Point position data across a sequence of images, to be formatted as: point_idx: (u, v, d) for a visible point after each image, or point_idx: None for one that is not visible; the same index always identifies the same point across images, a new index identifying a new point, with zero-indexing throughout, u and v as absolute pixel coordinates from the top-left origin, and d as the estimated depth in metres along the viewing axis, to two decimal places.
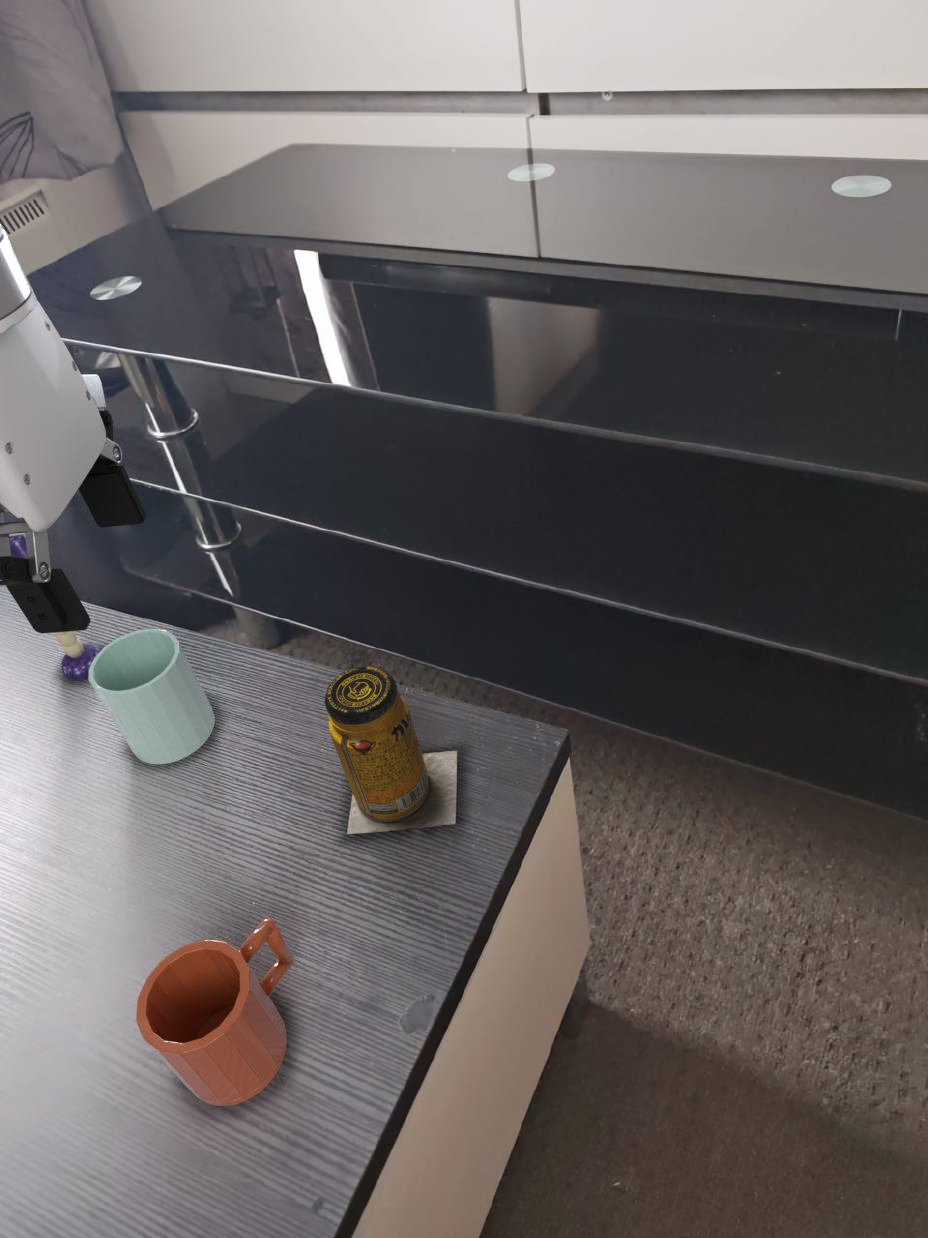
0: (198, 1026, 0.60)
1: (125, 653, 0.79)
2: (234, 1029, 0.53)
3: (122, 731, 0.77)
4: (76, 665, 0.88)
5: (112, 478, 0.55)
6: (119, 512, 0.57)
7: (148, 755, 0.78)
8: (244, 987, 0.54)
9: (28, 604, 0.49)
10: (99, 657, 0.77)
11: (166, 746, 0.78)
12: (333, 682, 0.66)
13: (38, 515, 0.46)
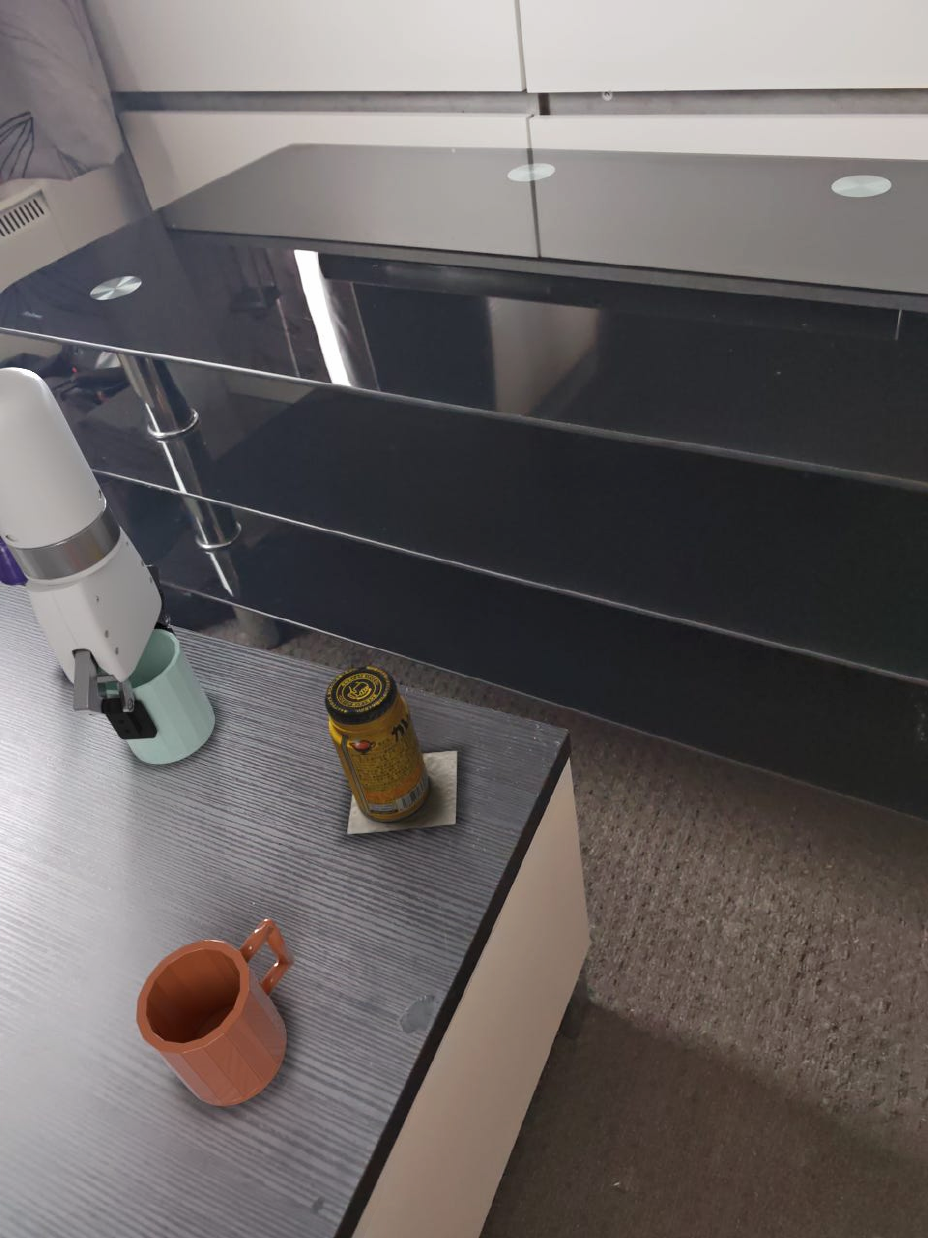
0: (198, 1026, 0.60)
1: None
2: (234, 1029, 0.53)
3: None
4: None
5: None
6: None
7: (148, 755, 0.78)
8: (244, 987, 0.54)
9: (118, 724, 0.73)
10: None
11: (166, 746, 0.78)
12: (333, 682, 0.66)
13: (122, 672, 0.70)
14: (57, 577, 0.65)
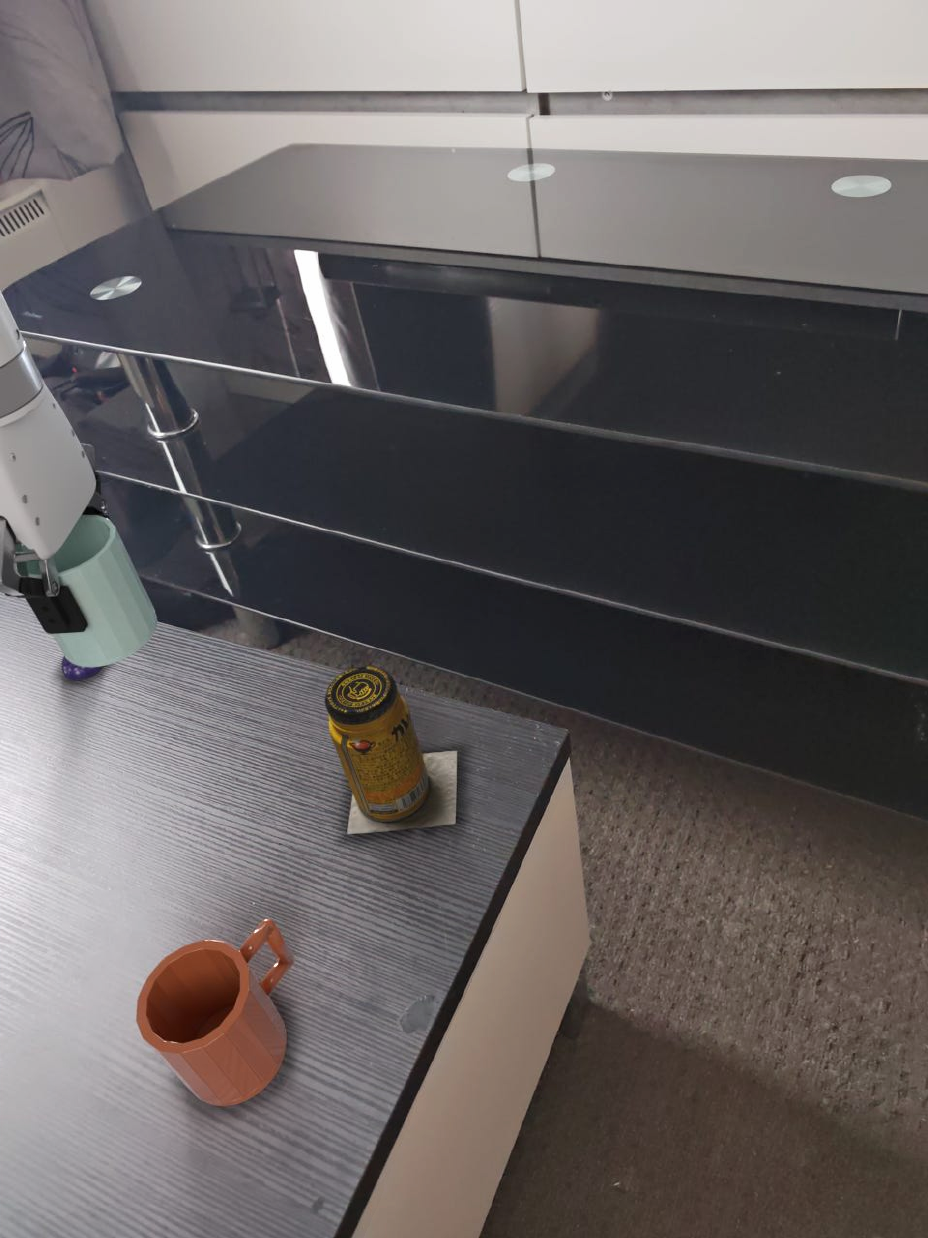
0: (198, 1026, 0.60)
1: None
2: (234, 1029, 0.53)
3: None
4: (76, 665, 0.88)
5: None
6: None
7: (79, 656, 0.70)
8: (244, 987, 0.54)
9: (41, 612, 0.65)
10: None
11: (99, 644, 0.69)
12: (333, 682, 0.66)
13: (45, 547, 0.62)
14: None
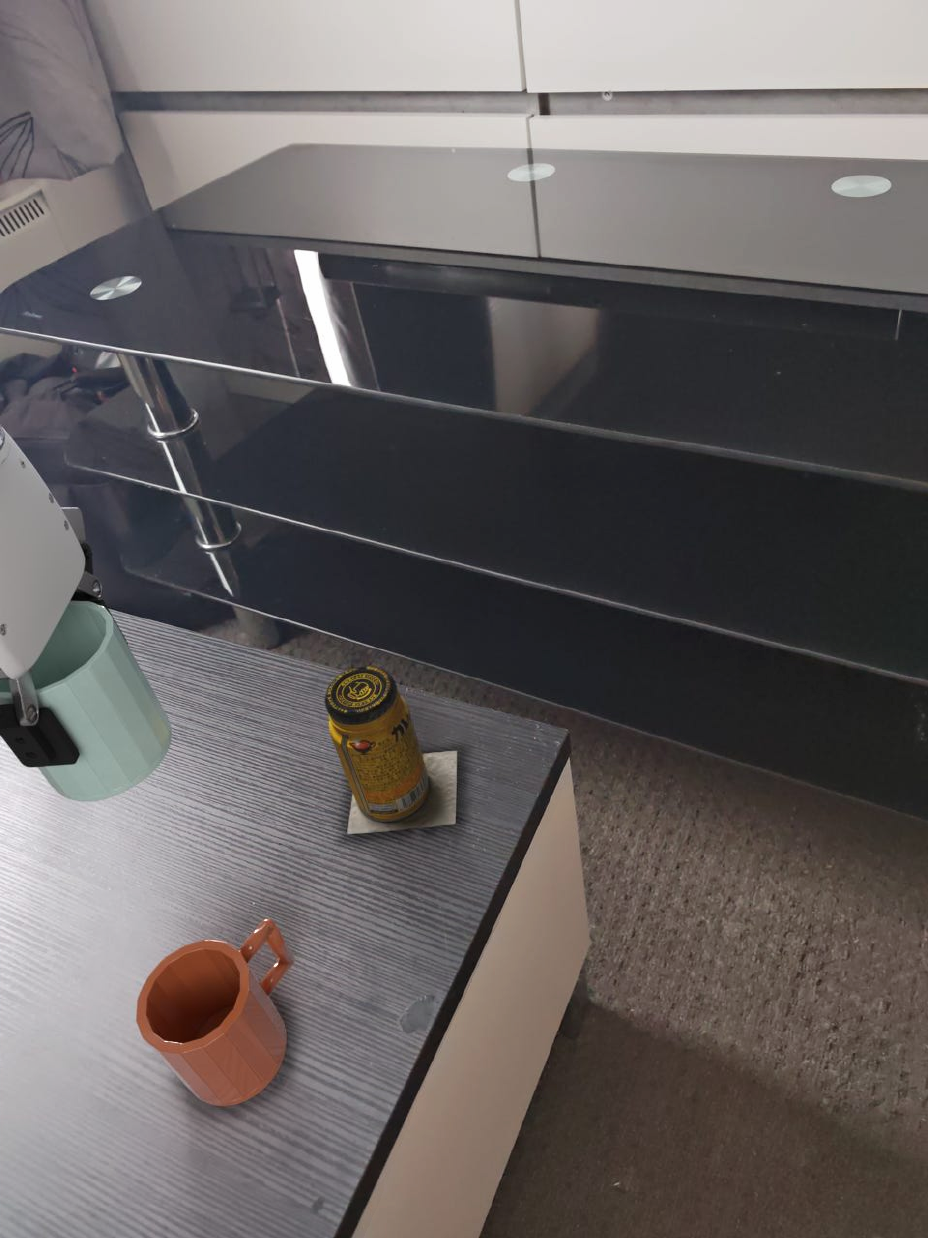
0: (198, 1026, 0.60)
1: None
2: (234, 1029, 0.53)
3: None
4: None
5: None
6: None
7: (71, 789, 0.53)
8: (244, 987, 0.54)
9: (16, 744, 0.48)
10: None
11: (96, 774, 0.52)
12: (333, 682, 0.66)
13: (15, 663, 0.45)
14: None
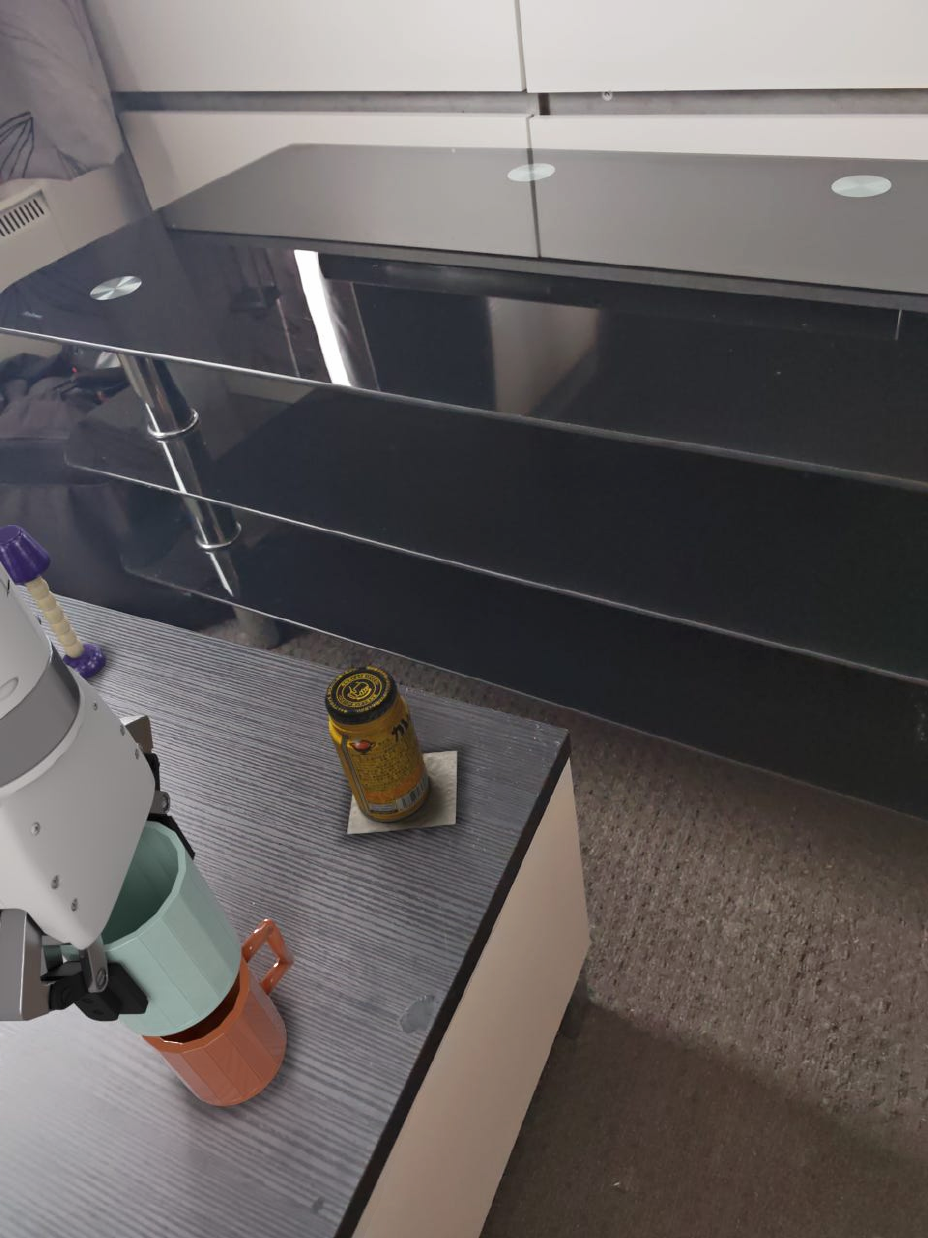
0: (198, 1026, 0.60)
1: None
2: (234, 1029, 0.53)
3: None
4: (76, 665, 0.88)
5: None
6: None
7: (136, 1025, 0.49)
8: (244, 987, 0.54)
9: (82, 1003, 0.44)
10: None
11: (164, 1014, 0.48)
12: (333, 682, 0.66)
13: (86, 935, 0.40)
14: None
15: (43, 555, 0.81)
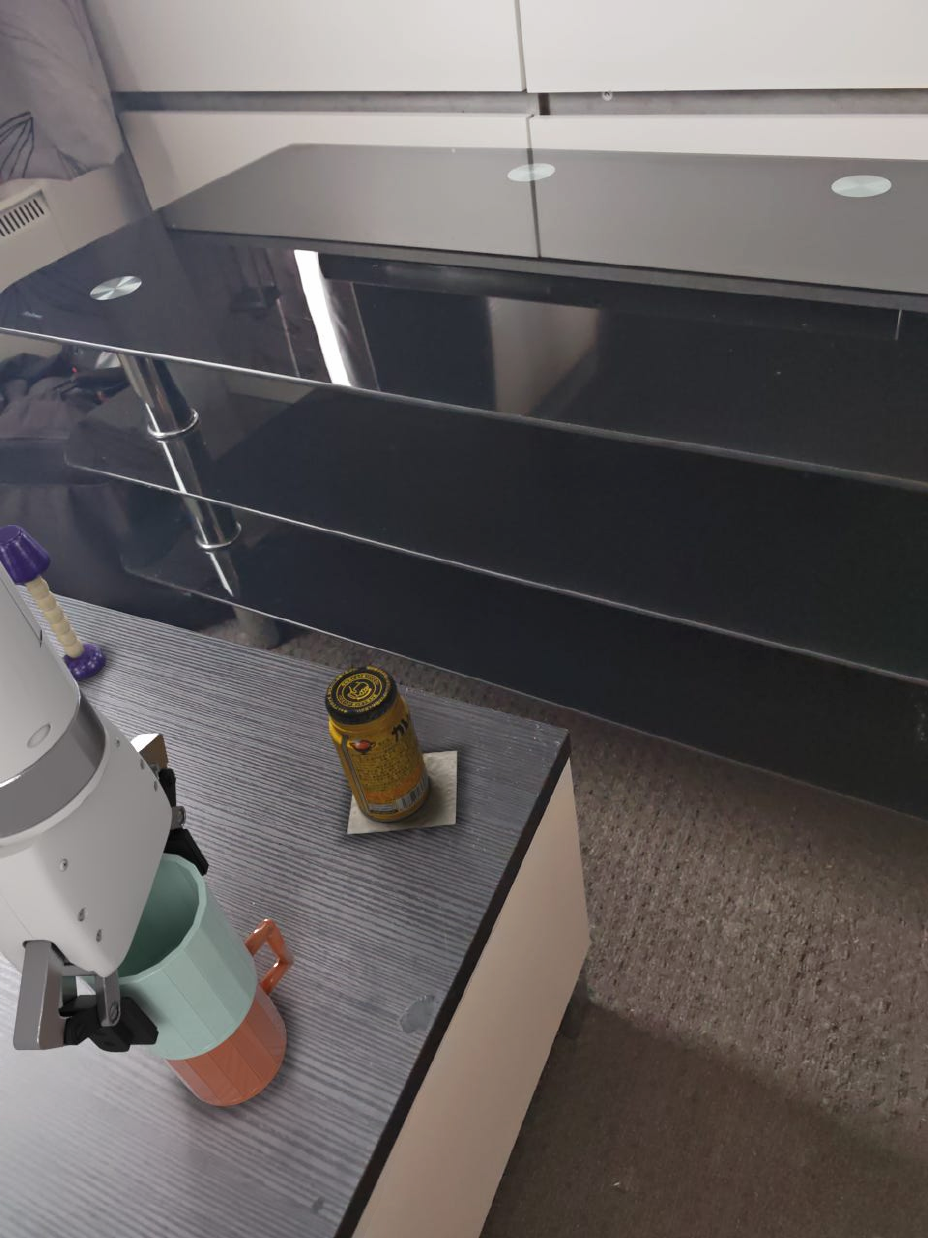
0: None
1: None
2: None
3: None
4: (76, 665, 0.88)
5: (176, 844, 0.51)
6: None
7: (157, 1050, 0.51)
8: None
9: (94, 1036, 0.45)
10: None
11: (185, 1040, 0.50)
12: (333, 682, 0.66)
13: (109, 964, 0.42)
14: None
15: (43, 555, 0.81)
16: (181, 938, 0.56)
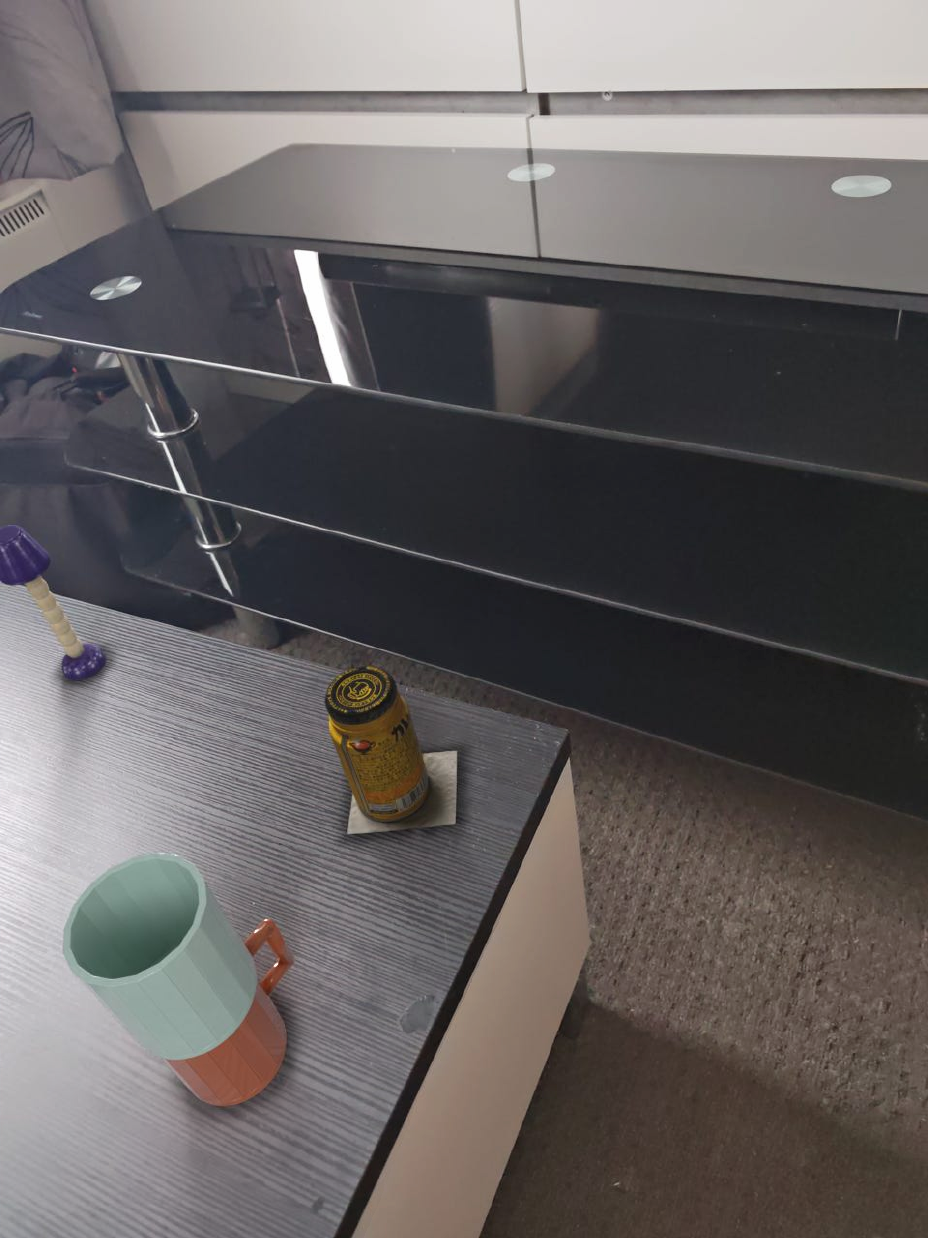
0: None
1: (122, 889, 0.51)
2: None
3: (116, 1019, 0.50)
4: (76, 665, 0.88)
5: None
6: None
7: (157, 1050, 0.51)
8: None
9: None
10: (80, 905, 0.49)
11: (185, 1040, 0.50)
12: (333, 682, 0.66)
13: None
14: None
15: (43, 555, 0.81)
16: (181, 938, 0.56)
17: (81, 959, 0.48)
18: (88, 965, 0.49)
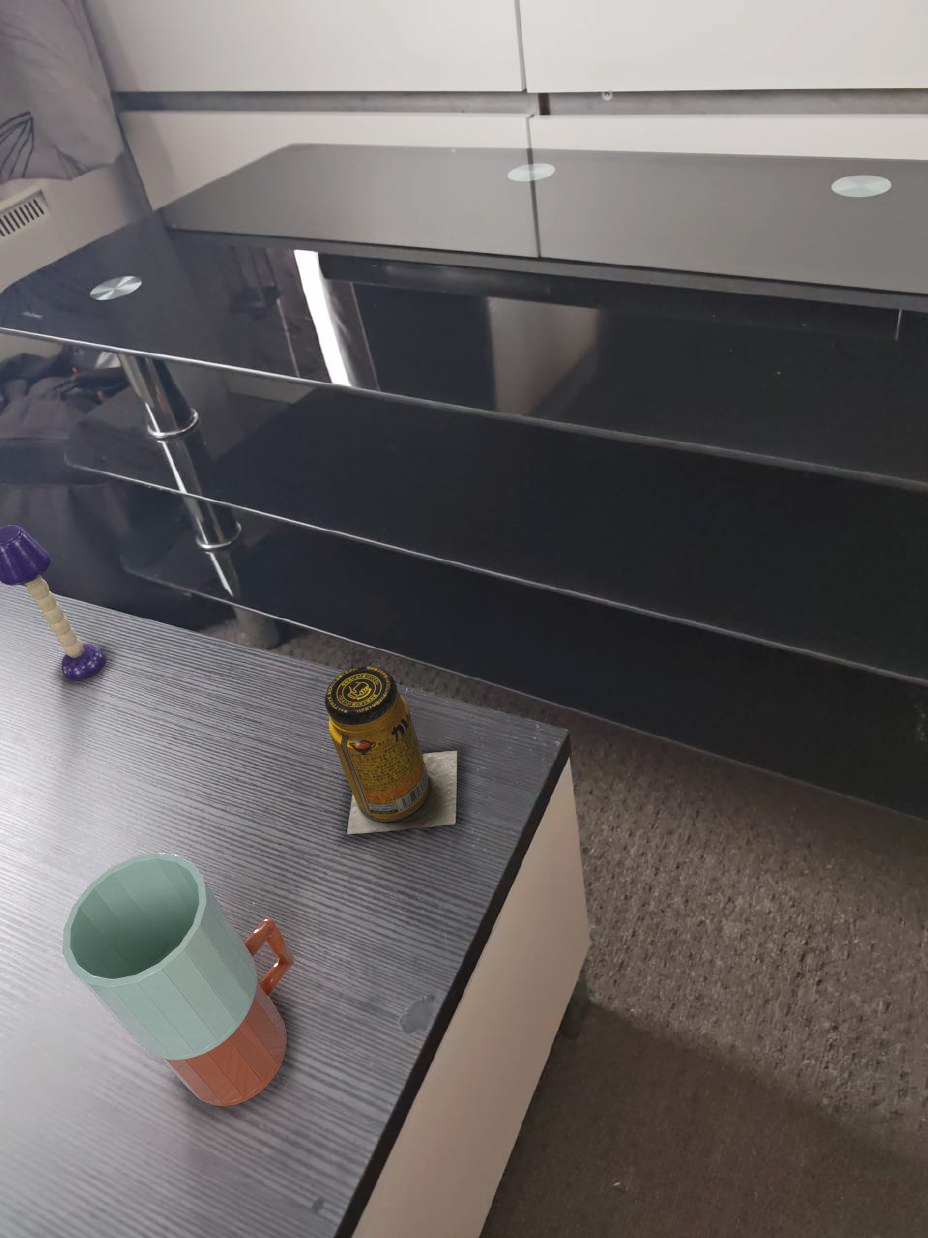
0: None
1: (122, 889, 0.51)
2: None
3: (116, 1019, 0.50)
4: (76, 665, 0.88)
5: None
6: None
7: (157, 1050, 0.51)
8: None
9: None
10: (80, 905, 0.49)
11: (185, 1040, 0.50)
12: (333, 682, 0.66)
13: None
14: None
15: (43, 555, 0.81)
16: (181, 938, 0.56)
17: (81, 959, 0.48)
18: (88, 965, 0.49)
